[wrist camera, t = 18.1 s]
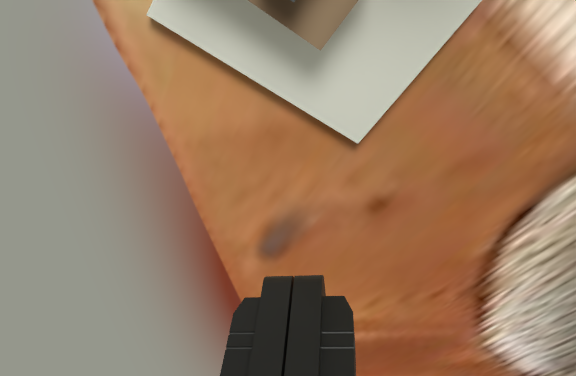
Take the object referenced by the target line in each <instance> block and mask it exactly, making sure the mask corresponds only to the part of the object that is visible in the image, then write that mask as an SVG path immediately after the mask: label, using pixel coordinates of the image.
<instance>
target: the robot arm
mask: <svg viewBox="0 0 576 376" xmlns="http://www.w3.org/2000/svg"><path fill="white" fill-rule="evenodd" d="M220 376H356V358H355V338H354V321H353V311H352V309H351V308H350V306H349V304H348V302H347V300H346V298H345V297H344V296H326V294H325V284H324V277H323V275H311V276H295V277H293V276H272V277H265V278H264V281H263V286H262V292H261V297H257V298H244V300H243V301H242V302H241V304H240V305H239V307H238V308H237V310H236V311H235V312H234V314H233V318H232V323H231V327H230V335H229V336H228V341H227V346H226V350H225V355H224V359H223V364H222V369H221V374H220Z"/></svg>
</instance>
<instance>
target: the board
mask: <svg viewBox="0 0 576 376" xmlns="http://www.w3.org/2000/svg"><path fill="white" fill-rule="evenodd" d="M481 1H482V0H358V2H357V3H356V4H355V6H354V7H353V8H352V10H351V11H350V12H349V14H348V15H347V16H346V18H345V19H344V20H343V22H342V23H341V24H340V25H339V27H338V28H337V29H336V31H335V32H334V33H333V35H332V36H331V37H330V39H329V40H328V41H327V43H326V44H325V45H324V47H323V48H322V49H321V51H320V50H319V49H317V48H316V47H314V46H313V45H311V44H310V43H309V42H307V41H306V40H304V39H303V38H301V37H300V36H299V35H297V34H296V33H294V32H293V31H291V30H290V29H288V28H287V27H286V26H284V25H283V24H281V23H280V22H278V21H277V20H275V19H274V18H273V17H271V16H270V15H268V14H267V13H265V12H264V11H262V10H261V9H260V8H258V7H257V6H255V5H254V4H252V3H251V2H249V1H248V0H153V2H152V4H151V6H150V8H149V10H148V13H147V16H149V17H151V18H152V19H154V20H155V21H157V22H159V23H160V24H162V25H164V26H165V27H167V28H169V29H170V30H172V31H174V32H175V33H177V34H178V35H180V36H182V37H183V38H185V39H187V40H188V41H190V42H192V43H193V44H195V45H196V46H198V47H200V48H201V49H203V50H205V51H206V52H208V53H210V54H211V55H213V56H215V57H216V58H218V59H219V60H221V61H223V62H224V63H226V64H228V65H229V66H231V67H233V68H234V69H236V70H238V71H239V72H241V73H242V74H244V75H246V76H247V77H249V78H251V79H252V80H254V81H256V82H257V83H259V84H260V85H262V86H264V87H265V88H267V89H269V90H270V91H272V92H274V93H275V94H277V95H279V96H280V97H282V98H283V99H285V100H287V101H288V102H290V103H292V104H293V105H295V106H297V107H298V108H300V109H302V110H303V111H305V112H306V113H308V114H310V115H311V116H313V117H315V118H316V119H318V120H320V121H321V122H323V123H324V124H326V125H328V126H329V127H331V128H333V129H334V130H336V131H338V132H339V133H341V134H343V135H344V136H346V137H347V138H349V139H351V140H352V141H354V142H356V143H357V144H358V143H359V142H360V141H361V140H362V139H363V137H364V136H365V135H366V134H367V133H368V132H369V130H370V129H371V128H372V127H373V126H374V125H375V124H376V122H377V121H378V120H379V119H380V118H381V117H382V115H383V114H384V113H385V112H386V111H387V110H388V108H389V107H390V106H391V105H392V104H393V103H394V102H395V100H396V99H397V98H398V97H399V96H400V95H401V93H402V92H403V91H404V90H405V89H406V88H407V86H408V85H409V84H410V83H411V82H412V81H413V80H414V78H415V77H416V76H417V75H418V74H419V73H420V71H421V70H422V69H423V68H424V67H425V66H426V64H427V63H428V62H429V61H430V60H431V59H432V58H433V56H434V55H435V54H436V53H437V52H438V51H439V49H440V48H441V47H442V46H443V45H444V44H445V42H446V41H447V40H448V39H449V38H450V37H451V36H452V34H453V33H454V32H455V31H456V30H457V29H458V27H459V26H460V25H461V24H462V23H463V22H464V20H465V19H466V18H467V17H468V16H469V15H470V14H471V12H472V11H473V10H474V9H475V8H476V7H477V5H478V4H479V3H480V2H481Z"/></svg>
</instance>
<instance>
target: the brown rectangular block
mask: <svg viewBox="0 0 576 376" xmlns="http://www.w3.org/2000/svg"><path fill="white" fill-rule="evenodd" d="M248 1H249V2H251V3H252V4H254V5H255V6H257V7H258V8H260V9H261V10H262V11H264V12H265V13H267V14H268V15H270V16H271V17H273V18H274V19H275V20H277V21H278V22H280V23H281V24H283V25H284V26H286V27H287V28H288V29H290V30H291V31H293V32H294V33H296V34H297V35H299V36H300V37H301V38H303V39H304V40H306V41H307V42H309V43H310V44H311V45H313V46H314V47H316V48H317V49H319V50H320V51H321V49H322V48H323V47H324V45H325V44H326V43H327V41H328V40H329V39H330V37H331V36H332V35H333V33H334V32H335V31H336V29H337V28H338V27H339V25H340V24H341V23H342V22H343V20H344V19H345V18H346V16H347V15H348V14H349V12H350V11H351V10H352V8H353V7H354V6H355V4H356V3H357V2H358V0H295V2H292V1H291V0H248Z"/></svg>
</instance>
